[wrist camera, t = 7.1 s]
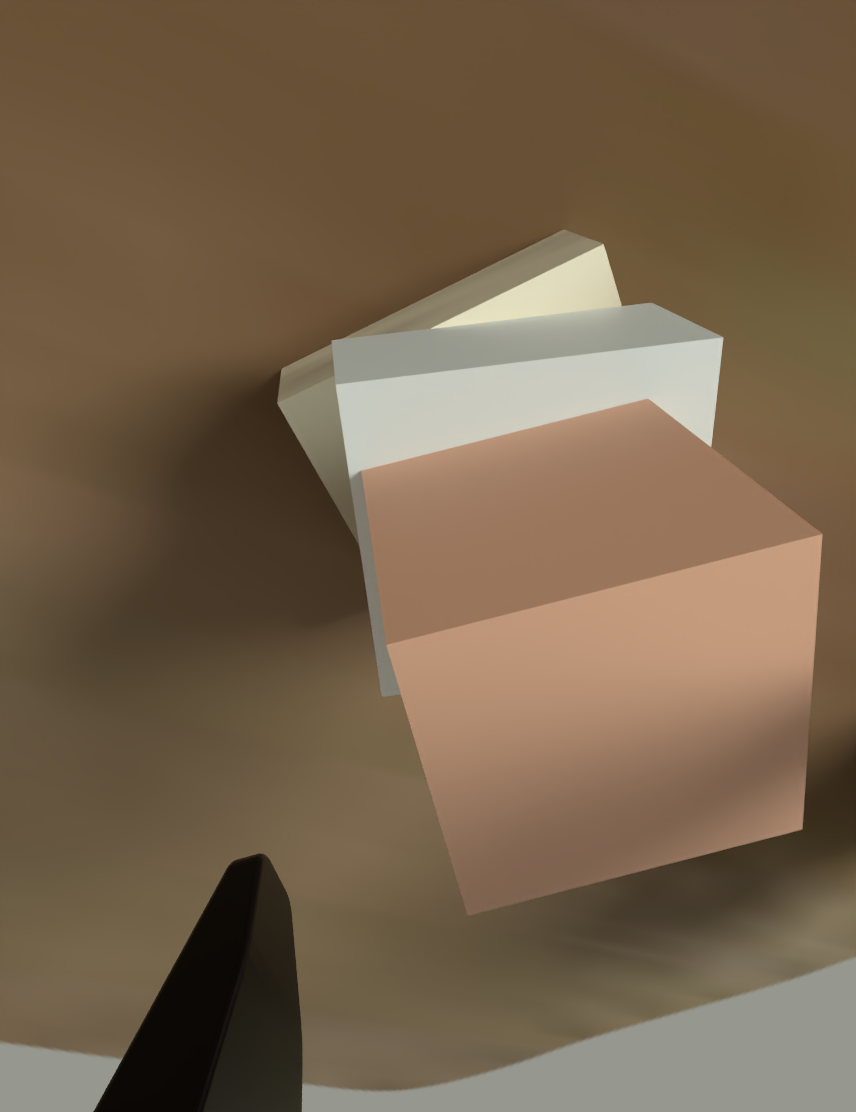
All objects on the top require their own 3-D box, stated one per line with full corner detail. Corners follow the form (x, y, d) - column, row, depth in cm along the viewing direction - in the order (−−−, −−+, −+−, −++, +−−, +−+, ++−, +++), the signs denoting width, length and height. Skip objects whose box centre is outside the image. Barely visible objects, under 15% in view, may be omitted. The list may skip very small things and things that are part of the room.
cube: (648, 398, 13) (822, 534, 8) (663, 632, 15) (802, 829, 11) (361, 471, 13) (386, 644, 8) (423, 693, 15) (467, 915, 11)
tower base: (639, 482, 20) (688, 532, 18) (406, 588, 21) (420, 652, 18) (558, 227, 17) (603, 244, 14) (281, 364, 17) (277, 403, 15)
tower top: (634, 576, 18) (688, 649, 15) (371, 614, 18) (382, 697, 15) (651, 303, 15) (723, 337, 12) (331, 340, 14) (335, 384, 12)
